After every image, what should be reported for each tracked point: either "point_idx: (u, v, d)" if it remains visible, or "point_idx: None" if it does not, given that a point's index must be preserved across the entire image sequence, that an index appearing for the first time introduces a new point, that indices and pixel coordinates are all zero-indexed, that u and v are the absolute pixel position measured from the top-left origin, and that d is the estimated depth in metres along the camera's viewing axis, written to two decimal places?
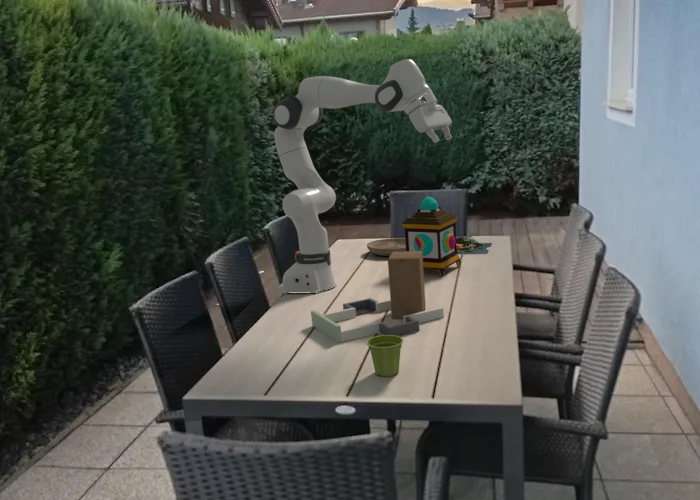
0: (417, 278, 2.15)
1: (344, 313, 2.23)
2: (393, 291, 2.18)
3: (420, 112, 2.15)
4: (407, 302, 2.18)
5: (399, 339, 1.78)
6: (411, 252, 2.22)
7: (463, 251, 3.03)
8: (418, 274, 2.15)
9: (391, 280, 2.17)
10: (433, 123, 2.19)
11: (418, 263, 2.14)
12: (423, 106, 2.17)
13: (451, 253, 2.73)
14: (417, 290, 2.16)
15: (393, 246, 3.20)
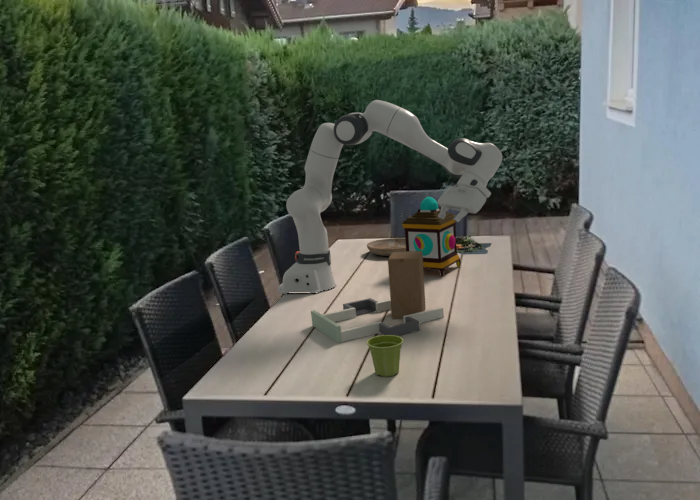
0: (417, 278, 2.15)
1: (344, 313, 2.23)
2: (393, 291, 2.18)
3: (484, 201, 2.24)
4: (407, 302, 2.18)
5: (399, 339, 1.78)
6: (411, 252, 2.22)
7: (462, 251, 3.03)
8: (418, 274, 2.15)
9: (391, 280, 2.17)
10: None
11: (418, 263, 2.14)
12: None
13: (450, 253, 2.73)
14: (417, 290, 2.16)
15: (393, 246, 3.20)
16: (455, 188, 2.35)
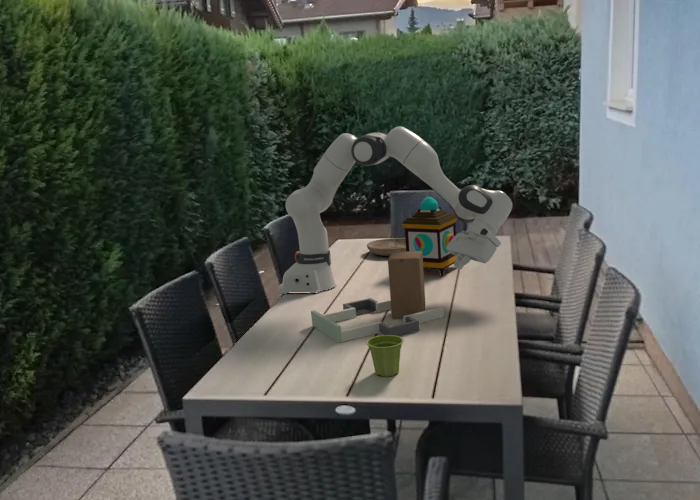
0: (417, 278, 2.15)
1: (344, 313, 2.23)
2: (393, 291, 2.18)
3: (494, 251, 2.23)
4: (407, 302, 2.18)
5: (399, 339, 1.78)
6: (411, 252, 2.22)
7: None
8: (418, 274, 2.15)
9: (391, 280, 2.17)
10: None
11: (418, 263, 2.14)
12: None
13: None
14: (417, 290, 2.16)
15: (393, 246, 3.20)
16: (464, 235, 2.34)
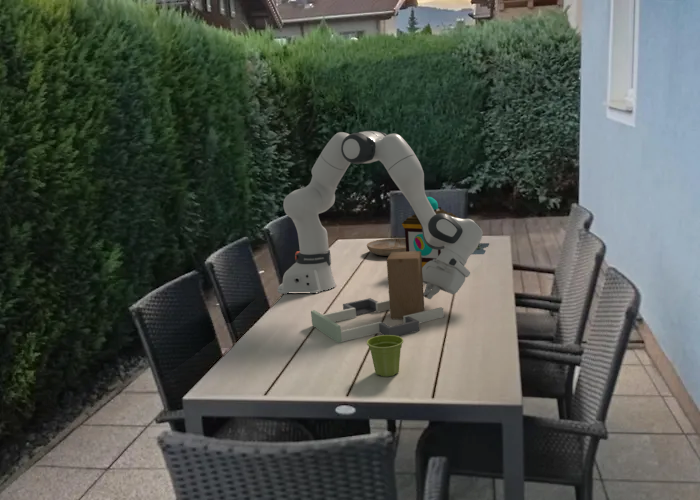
0: (416, 278, 2.15)
1: (344, 313, 2.23)
2: (392, 292, 2.17)
3: (463, 282, 2.20)
4: (406, 303, 2.17)
5: (399, 339, 1.78)
6: (410, 252, 2.21)
7: None
8: (417, 274, 2.15)
9: (390, 280, 2.17)
10: None
11: (417, 263, 2.14)
12: None
13: None
14: (416, 290, 2.16)
15: (393, 246, 3.20)
16: (434, 264, 2.30)
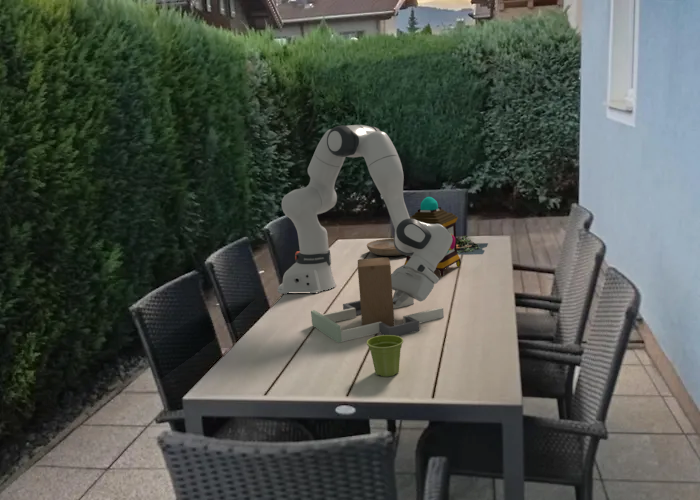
0: (388, 285, 2.10)
1: (344, 313, 2.23)
2: (364, 300, 2.11)
3: (431, 289, 2.15)
4: (378, 311, 2.11)
5: (399, 339, 1.78)
6: (378, 259, 2.16)
7: (459, 251, 3.03)
8: (389, 281, 2.09)
9: (361, 288, 2.10)
10: None
11: (389, 270, 2.09)
12: None
13: (450, 253, 2.73)
14: (388, 297, 2.10)
15: (393, 246, 3.20)
16: (403, 270, 2.25)
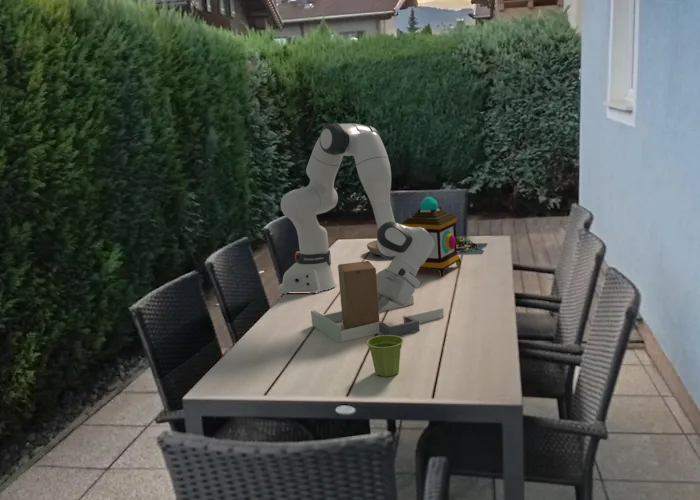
0: (374, 289, 2.07)
1: None
2: (350, 306, 2.06)
3: (412, 293, 2.12)
4: (364, 315, 2.08)
5: (399, 339, 1.78)
6: (359, 263, 2.12)
7: (458, 251, 3.03)
8: (375, 284, 2.07)
9: (347, 294, 2.05)
10: None
11: (375, 273, 2.06)
12: None
13: (450, 253, 2.73)
14: (374, 301, 2.07)
15: None
16: (385, 274, 2.22)
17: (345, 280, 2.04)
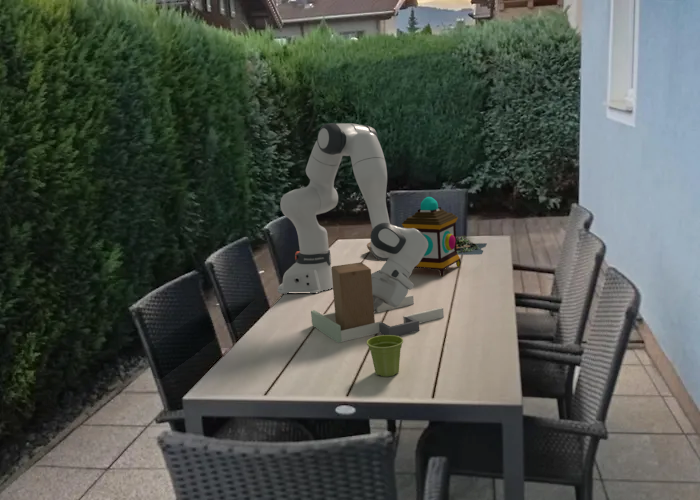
0: (369, 290, 2.06)
1: None
2: (345, 307, 2.05)
3: (405, 294, 2.11)
4: (360, 317, 2.07)
5: (399, 339, 1.78)
6: (353, 264, 2.11)
7: (458, 251, 3.03)
8: (370, 286, 2.06)
9: (343, 295, 2.04)
10: None
11: (370, 274, 2.05)
12: None
13: (450, 253, 2.73)
14: (370, 302, 2.07)
15: None
16: (378, 275, 2.21)
17: (341, 282, 2.03)
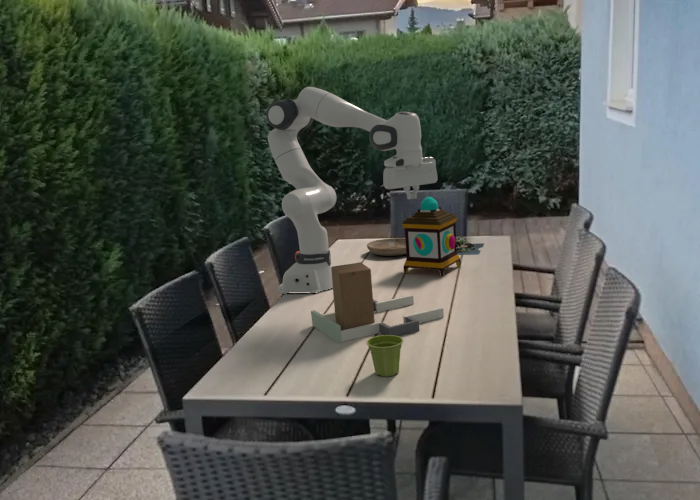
0: (369, 290, 2.06)
1: None
2: (345, 307, 2.05)
3: (389, 174, 2.32)
4: (359, 317, 2.07)
5: (399, 339, 1.78)
6: (353, 264, 2.11)
7: None
8: (370, 286, 2.06)
9: (343, 296, 2.04)
10: (403, 185, 2.35)
11: (370, 274, 2.05)
12: (397, 168, 2.32)
13: (450, 253, 2.73)
14: (370, 302, 2.07)
15: (393, 246, 3.20)
16: None
17: (341, 282, 2.03)
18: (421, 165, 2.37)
